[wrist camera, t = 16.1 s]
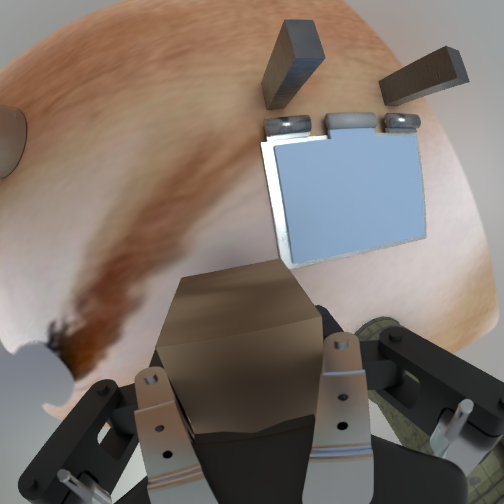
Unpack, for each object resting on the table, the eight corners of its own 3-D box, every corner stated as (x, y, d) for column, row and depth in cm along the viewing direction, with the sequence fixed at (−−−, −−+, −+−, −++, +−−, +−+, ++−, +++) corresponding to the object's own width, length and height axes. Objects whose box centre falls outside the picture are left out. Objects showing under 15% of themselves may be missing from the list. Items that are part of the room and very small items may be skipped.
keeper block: (205, 357, 14) (201, 441, 9) (181, 277, 13) (155, 347, 7) (292, 341, 15) (324, 418, 9) (280, 258, 13) (322, 316, 8)
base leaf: (281, 267, 28) (316, 325, 16) (248, 84, 23) (262, 20, 11) (421, 236, 28) (493, 263, 17) (399, 83, 23) (467, 54, 12)
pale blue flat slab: (291, 261, 26) (296, 267, 25) (268, 120, 23) (270, 116, 21) (420, 233, 27) (429, 236, 25) (406, 115, 23) (415, 113, 22)
